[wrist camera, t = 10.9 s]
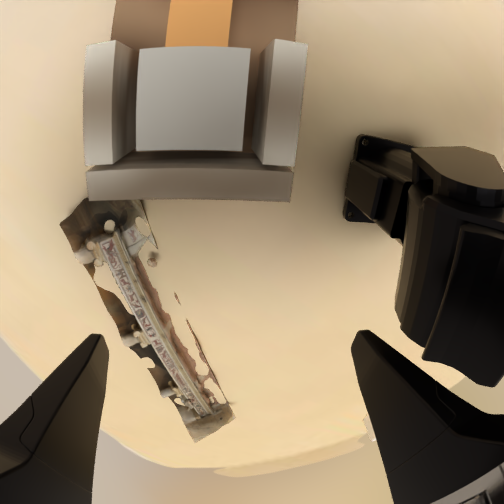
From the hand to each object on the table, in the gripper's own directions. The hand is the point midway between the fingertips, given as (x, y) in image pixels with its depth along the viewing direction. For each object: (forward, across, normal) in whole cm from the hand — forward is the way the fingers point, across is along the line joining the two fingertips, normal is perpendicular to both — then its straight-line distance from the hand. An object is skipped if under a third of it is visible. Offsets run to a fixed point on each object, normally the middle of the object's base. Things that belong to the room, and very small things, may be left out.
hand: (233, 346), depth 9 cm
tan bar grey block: (+11, +2, -17) cm, 20 cm away
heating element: (+13, +5, +13) cm, 19 cm away
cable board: (+12, +2, -17) cm, 21 cm away
